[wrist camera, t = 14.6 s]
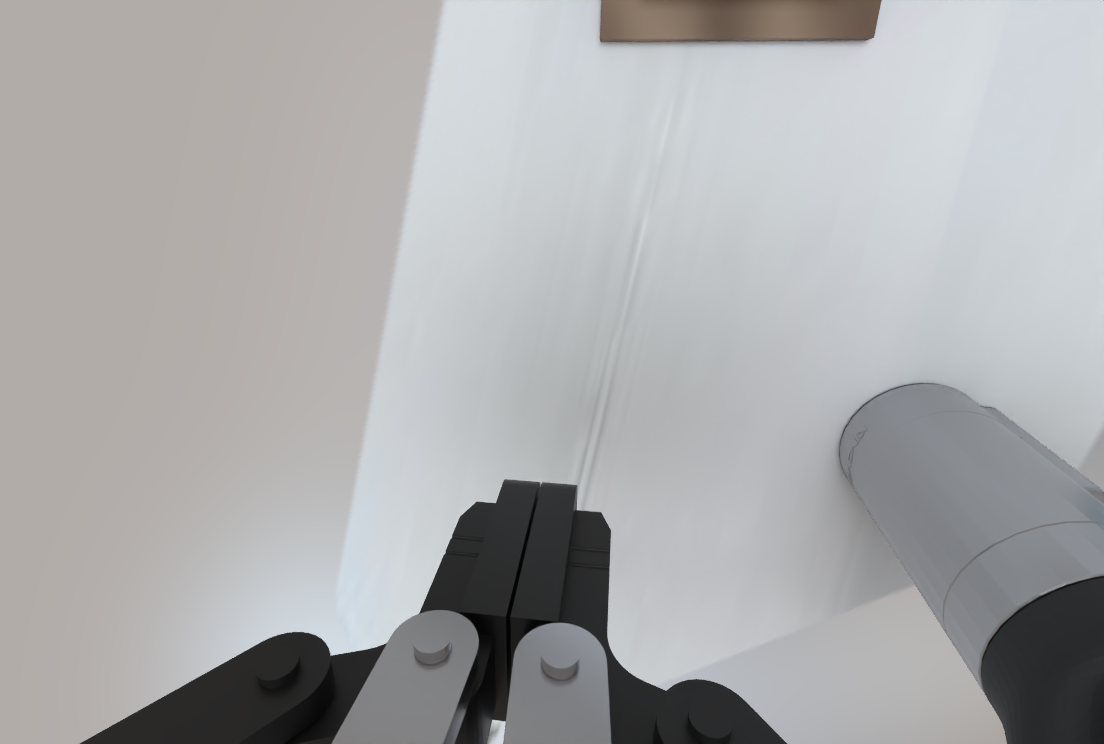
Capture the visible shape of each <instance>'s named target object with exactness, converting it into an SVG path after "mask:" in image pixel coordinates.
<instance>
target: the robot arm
mask: <svg viewBox="0 0 1104 744" xmlns="http://www.w3.org/2000/svg"><path fill="white" fill-rule="evenodd" d="M839 454H840V460H841V466H842V468H843V470H844V472H845V475H846V476H847V478H848V480H849V481H850V483H851V484H852V486H853V487H854V489H855V491H856V492H857V494H858V495H859V497H860V499H861V500H862V502H863V503H864V505H865V506H866V508H867V510H868V512H869V513H870V515H871V516H872V518H873V519H874V521H875V523H876V524H877V526H878V527H879V529H880V530H881V532H882V534H883V535H884V537H885V538H886V540H887V541H888V543H889V545H890V546H891V548H892V549H893V551H894V552H895V554H896V555H897V557H898V559H899V560H900V562H901V563H902V565H903V566H904V568H905V570H906V571H907V573H908V574H909V576H910V577H911V579H912V581H913V582H914V584H915V585H916V587H917V588H918V590H919V592H920V593H921V595H922V596H923V598H924V599H925V601H926V602H927V604H928V606H929V607H930V609H931V610H932V612H933V614H934V615H935V617H936V618H937V620H938V621H939V623H940V624H941V626H942V628H943V629H944V631H945V632H946V634H947V635H948V637H949V639H950V640H951V641H952V643H953V645H954V646H955V648H956V649H957V651H958V652H959V654H960V656H961V657H962V659H963V660H964V662H965V663H966V665H967V667H968V668H969V670H970V671H971V673H972V674H973V676H974V677H975V679H976V681H977V682H978V684H979V685H980V687H981V689H982V690H983V692H984V693H985V695H986V696H987V698H988V700H989V702H990V703H991V705H992V707H993V708H994V710H995V711H996V713H997V715H998V716H999V718H1000V720H1001V722H1002V724H1003V727H1004V730H1005V735H1006V740H1007V744H1104V492H1103V491H1102V490H1101V489H1100V488H1099V487H1098V486H1096V485H1095V484H1094V483H1093V482H1091V481H1090V480H1089V479H1087V478H1086V477H1085V476H1083V475H1082V474H1081V473H1079V472H1078V471H1077V470H1076V469H1074V468H1073V467H1072V466H1070V465H1069V464H1068V463H1066V462H1065V461H1064V460H1062V459H1061V458H1060V457H1058V456H1057V455H1056V454H1055V453H1053V452H1052V451H1051V450H1049V449H1048V448H1047V447H1045V446H1044V445H1043V444H1041V443H1040V442H1039V441H1038V440H1036V439H1035V438H1034V437H1032V436H1031V435H1030V434H1028V433H1027V432H1026V431H1024V430H1023V429H1022V428H1021V427H1019V426H1018V425H1017V424H1015V423H1014V422H1013V421H1011V420H1010V419H1009V418H1007V417H1006V416H1005V415H1004V414H1002V413H1001V412H1000V411H998V410H997V409H995V408H984V407H981V406H979V405H978V404H977V403H976V402H974V401H973V400H972V399H971V398H969V397H968V396H967V395H965V394H963V393H961V392H959V391H957V390H955V389H953V388H950V387H946V386H942V385H937V384H916V385H907V386H903V387H900V388H897V389H893V390H890V391H888V392H886V393H884V394H882V395H880V396H878V397H876V398H874V399H873V400H872V401H870V402H869V403H867V404H866V405H865V406H863V407H862V408H861V409H860V410H859V411H858V412H857V413H856V414H855V416H854V417H853V418H852V419H851V421H850V422H849V424H848V426H847V427H846V429H845V431H844V434H843V437H842V439H841V444H840V453H839ZM610 539H611V530H610V528H609V526H608V524H607V522H606V521H605V519H604V517H603V515H602V513H601V512H590V511H579V510H577V485H568V484H556V483H544V482H542V484H541V486H540V482H530V481H518V480H506V479H505V480H504V482H503V484H502V487H501V490H500V493H499V496H498V499H497V502H496V503H485V502H476V503H475V504H474V505H473V506H472V507H470V508H469V509H468V510H467V511H466V512H465V513H464V514H463V515H462V516H460V518H459V521H458V523H457V525H456V528H455V530H454V533H453V535H452V539H451V540H450V542H449V544H448V547H447V549H446V554H444V556H443V559H442V561H441V563H440V566H439V568H438V570H437V573H436V575H435V578H434V580H433V582H432V585H431V587H430V589H429V592H428V594H427V597H426V599H425V601H424V604H423V606H422V608H421V611H420V613H419V614H418V615H415V616H413V617H411V618H410V619H408V620H406V621H405V622H404V623H402V624H401V625H400V626H399V627H398V628H397V629H396V630H395V631H394V633H393V634H392V636H391V637H390V639H389V641H388V642H387V643H386V644H384V645H381V646H378V647H376V648H372V649H367V650H362V651H356V652H350V653H344V654H339V655H333V656H330V652H329V648H328V646H327V645H326V643H325V642H324V641H323V640H322V639H321V638H319V637H317V636H316V635H312V634H309V633H304V632H292V633H285V634H281V635H277V636H274V637H272V638H269V639H267V640H265V641H263V642H261V643H259V644H258V645H256V646H254V647H252V648H250V649H249V650H247V651H245V652H243V653H241V654H240V655H238V656H236V657H234V658H232V659H231V660H229V661H227V662H225V663H224V664H222V665H220V666H218V667H216V668H214V669H213V670H211V671H209V672H207V673H205V674H204V675H202V676H200V677H198V678H196V679H195V680H193V681H191V682H189V683H188V684H186V685H184V686H182V687H181V688H179V689H177V690H175V691H173V692H171V693H170V694H168V695H166V696H164V697H162V698H161V699H159V700H157V701H155V702H154V703H152V704H150V705H148V706H146V707H145V708H143V709H141V710H139V711H138V712H136V713H134V714H132V715H130V716H128V717H127V718H125V719H123V720H121V721H120V722H118V723H116V724H114V725H112V726H111V727H109V728H107V729H105V730H103V731H102V732H100V733H98V734H96V735H94V736H93V737H91V738H89V739H88V740H86V741H84V742H82V743H80V744H487V740H488V736H489V732H490V727H491V723H492V720H499V721H506V725H505V733H504V742H503V744H787V743H786V742H785V741H784V740H783V739H782V738H781V737H780V736H779V735H778V734H777V733H776V732H775V731H774V730H773V729H772V728H771V727H770V726H769V725H768V724H767V723H766V722H765V721H764V720H763V719H762V718H761V717H760V716H759V715H758V714H757V713H756V712H755V711H754V710H753V709H752V708H751V707H750V706H749V705H748V704H747V703H746V702H745V701H744V700H743V699H742V698H741V697H740V696H739V695H737V694H736V693H735V692H733V691H732V690H730V689H728V688H727V687H725V686H723V685H720V684H718V683H715V682H711V681H706V680H698V679H695V680H687V681H683V682H680V683H677V684H675V685H673V686H672V687H671V688H669V689H668V690H667V691H665V690H663V689H660V688H658V687H656V686H653V685H651V684H649V683H646V682H644V681H642V680H640V679H638V678H636V677H635V676H633V675H632V674H630V673H629V672H628V671H627V670H626V669H624V668H623V667H622V666H621V665H620V663H619V662H618V661H617V660H616V658H615V657H614V655H613V654H612V651H611V649H610V647H609V643H608V639H607V621H608V594H609V566H610Z"/></svg>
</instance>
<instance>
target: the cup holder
mask: <svg viewBox="0 0 1104 744" xmlns="http://www.w3.org/2000/svg"><path fill="white" fill-rule="evenodd" d="M880 4H881V0H602V1H601V29H600V41H601V42H631V41H800V40H868V39H871V38H874V34H875V29H876V24H877V19H878V14H879V9H880Z"/></svg>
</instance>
